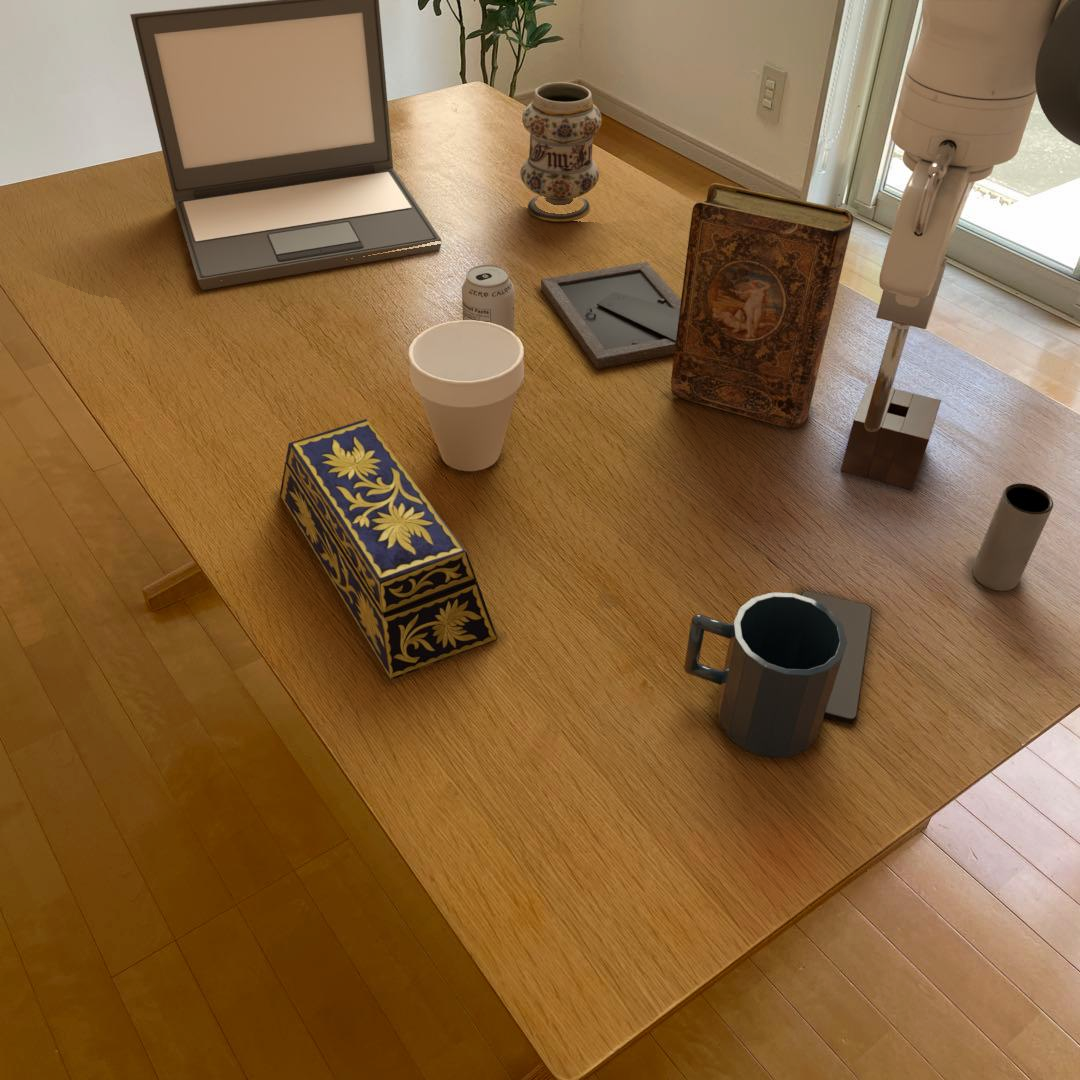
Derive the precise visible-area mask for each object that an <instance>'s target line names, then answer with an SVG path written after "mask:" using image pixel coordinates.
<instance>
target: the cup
mask: <svg viewBox="0 0 1080 1080" xmlns="http://www.w3.org/2000/svg"><path fill="white" fill-rule="evenodd" d="M524 349H525V347H524V344H523V343H522V341H521V339H520V338H519V337H518V336H517V335H516V334H515V332H514V333H512V332H511V331H509V330H508V329H506V328H504V327H502V326H499V325H496V324H493V323H489V322H483V321H476V320H463V319H461V320H453V321H446V322H443V323H440V324H437V325H434V326H431V327H430V328H427V329H425V330H423V331H421V332H420V334H418V335H417V336H416V337H415V338H414V339H413V340H412V341H411V344H410V345H409V347H408V354H407V358H408V360H409V380H410V383H411V386H412V388H413V389H414V390H415V391H416V392H417V394H418V396H419V399H420V403H421V405H422V408H423V410H424V414H425V416H426V419H427V421H428V424H429V427H430V430H431V432H432V435H433V438H434V441H435V443H436V446H437V449H438V451H439V455H440V458H441V460H442V461H443V463H445V464H446V465H447V466H448V467H450V468H452V469H455V470H457V471H462V472H463V471H464V472H476V471H481V470H485V469H488V468H490V467H491V466H493V465H495V463H497V461H498V460H499V458H500V456H501V452H502V449H503V445H504V441H505V439H506V434H507V431H508V428H509V423H510V420H511V417H512V413H513V409H514V404H515V401H516V399H517V394H518V390H519V388H520V387H521V386H522V384H523V381H524V379H525V365H524V357H525V351H524Z"/></svg>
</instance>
